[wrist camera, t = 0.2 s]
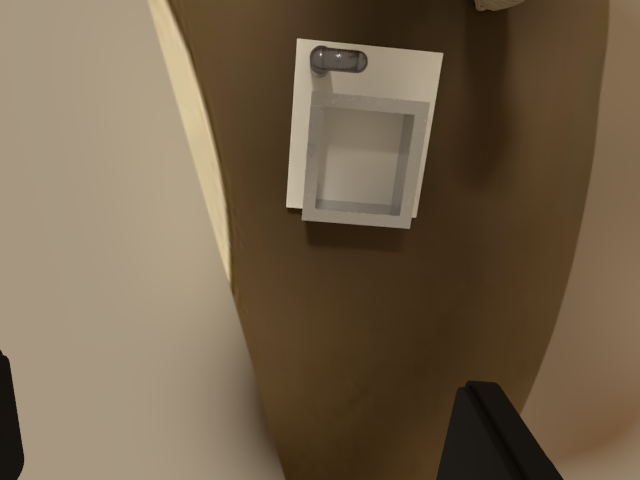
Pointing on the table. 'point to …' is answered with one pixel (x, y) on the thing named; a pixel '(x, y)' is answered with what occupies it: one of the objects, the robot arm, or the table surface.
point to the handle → (495, 4)
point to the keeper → (360, 132)
